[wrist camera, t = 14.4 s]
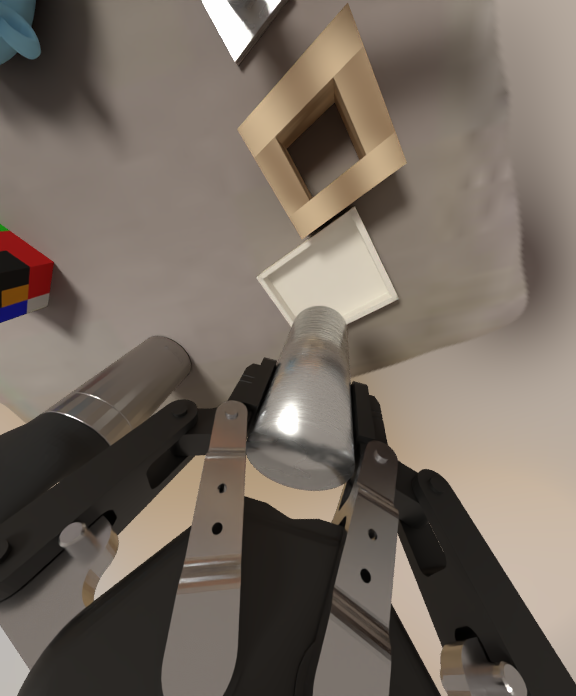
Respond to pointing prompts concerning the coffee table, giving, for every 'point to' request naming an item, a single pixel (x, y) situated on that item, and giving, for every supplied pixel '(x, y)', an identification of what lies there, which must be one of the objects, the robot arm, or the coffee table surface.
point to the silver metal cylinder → (307, 407)
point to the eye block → (307, 106)
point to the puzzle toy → (22, 277)
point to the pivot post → (242, 22)
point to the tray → (331, 273)
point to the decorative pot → (17, 30)
